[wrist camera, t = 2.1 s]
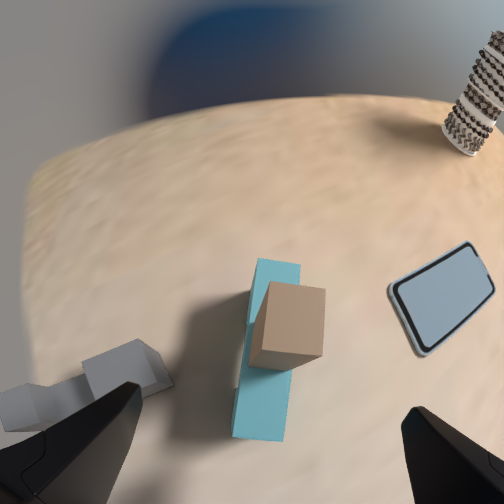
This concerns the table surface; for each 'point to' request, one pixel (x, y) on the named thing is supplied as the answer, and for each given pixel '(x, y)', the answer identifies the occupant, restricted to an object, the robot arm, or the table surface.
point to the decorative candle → (479, 100)
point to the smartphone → (442, 296)
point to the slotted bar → (83, 387)
